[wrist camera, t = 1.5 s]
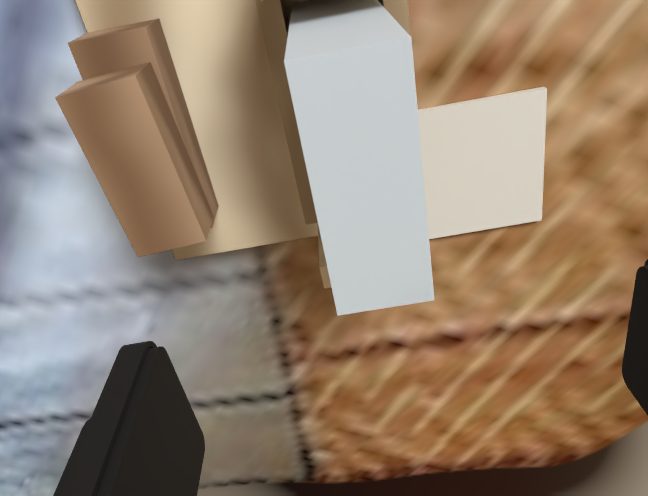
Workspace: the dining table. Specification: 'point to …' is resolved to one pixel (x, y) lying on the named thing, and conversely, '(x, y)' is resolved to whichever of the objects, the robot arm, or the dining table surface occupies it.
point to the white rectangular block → (361, 150)
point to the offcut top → (139, 158)
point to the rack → (237, 111)
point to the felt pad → (483, 162)
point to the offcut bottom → (151, 46)
